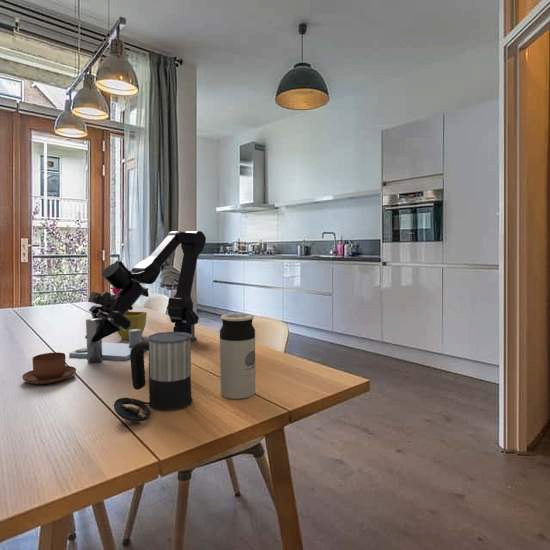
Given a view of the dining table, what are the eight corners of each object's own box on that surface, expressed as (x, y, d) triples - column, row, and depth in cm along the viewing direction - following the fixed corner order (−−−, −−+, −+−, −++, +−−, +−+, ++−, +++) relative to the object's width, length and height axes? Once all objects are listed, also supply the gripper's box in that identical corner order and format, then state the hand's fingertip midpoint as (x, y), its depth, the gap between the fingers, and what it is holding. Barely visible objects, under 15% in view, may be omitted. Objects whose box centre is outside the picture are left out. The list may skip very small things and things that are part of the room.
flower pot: (148, 335, 154) (147, 311, 153) (138, 340, 145) (137, 315, 145) (125, 334, 155) (124, 311, 154) (114, 340, 146) (113, 315, 146)
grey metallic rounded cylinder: (105, 360, 121) (103, 318, 120) (96, 364, 117) (95, 321, 116) (93, 359, 122) (91, 318, 121) (84, 363, 118) (82, 320, 117)
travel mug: (213, 393, 94) (212, 315, 92) (240, 385, 99) (239, 311, 98) (235, 403, 88) (234, 320, 87) (262, 393, 94) (262, 315, 92)
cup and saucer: (28, 375, 108) (27, 352, 107) (78, 370, 112) (77, 348, 111) (17, 390, 97) (16, 365, 96) (73, 384, 101) (72, 360, 100)
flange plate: (149, 348, 134) (149, 329, 134) (125, 360, 121) (124, 339, 120) (98, 345, 138) (97, 327, 138) (69, 356, 125) (68, 336, 124)
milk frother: (196, 395, 93) (195, 330, 92) (183, 426, 77) (181, 348, 76) (133, 396, 93) (131, 331, 91) (107, 427, 77) (104, 349, 76)
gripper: (94, 279, 127) (57, 319, 121) (118, 283, 114) (78, 328, 107) (120, 301, 133) (86, 340, 127) (146, 308, 120) (109, 352, 113)
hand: (89, 340), depth 118 cm, fingers open, 5 cm apart
